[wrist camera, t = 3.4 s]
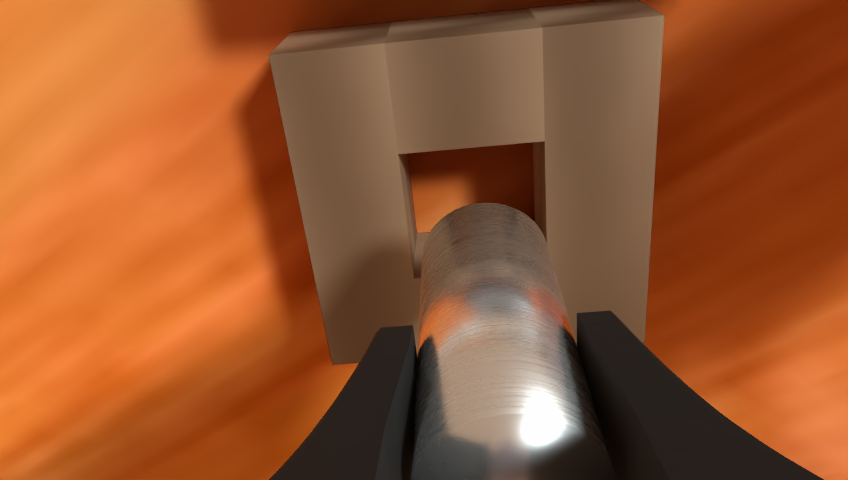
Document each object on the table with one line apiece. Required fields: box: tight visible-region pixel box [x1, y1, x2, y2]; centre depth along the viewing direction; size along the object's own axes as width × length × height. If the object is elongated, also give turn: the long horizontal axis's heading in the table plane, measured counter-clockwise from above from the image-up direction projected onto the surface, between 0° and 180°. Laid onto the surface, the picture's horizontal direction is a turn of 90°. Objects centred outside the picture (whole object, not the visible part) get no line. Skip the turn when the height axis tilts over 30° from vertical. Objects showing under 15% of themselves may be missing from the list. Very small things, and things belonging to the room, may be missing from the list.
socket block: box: [269, 0, 664, 365], centre depth 21 cm, size 10×10×3 cm
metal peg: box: [411, 203, 615, 480], centre depth 13 cm, size 3×3×7 cm
